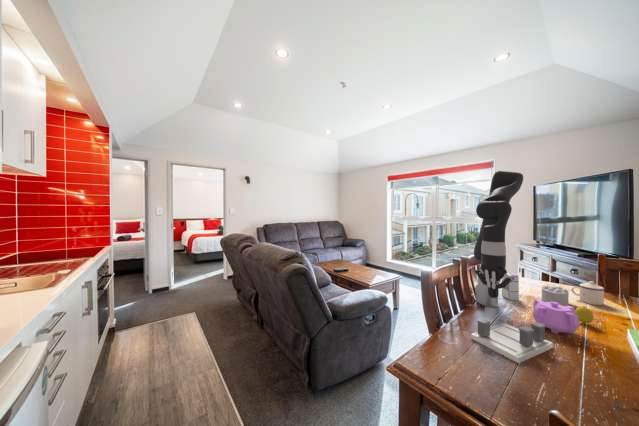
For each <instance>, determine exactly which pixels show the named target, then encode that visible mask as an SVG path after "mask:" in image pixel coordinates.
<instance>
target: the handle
mask: <svg viewBox="0 0 639 426" xmlns="http://www.w3.org/2000/svg"><path fill="white" fill-rule="evenodd" d="M530 326H531V328H532V329H534V332H533V339H534V340H536V341H538V342H541V341H543V340H546V330H545V329H546V328H547V327H546V325H544V324H541V323H539V322H536V321H534V322H531V323H530Z"/></svg>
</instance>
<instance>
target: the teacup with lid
mask: <svg viewBox="0 0 639 426" xmlns="http://www.w3.org/2000/svg"><path fill="white" fill-rule="evenodd" d="M574 289H579V293H576V292H575V290H574ZM605 290H606V289H605V288H604V287H603V286H600V285H598V284H596V283H595V281H593V280H592V281H590V280H589V281H588V282H584V283H580V284H578V286H573V287H571V292H572V294H574V296H579V300H580V301H581V302H583V303H586V304H588V305H589V304H590V305H594V306H603V305H604V304H605Z"/></svg>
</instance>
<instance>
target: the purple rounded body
mask: <svg viewBox="0 0 639 426" xmlns="http://www.w3.org/2000/svg"><path fill="white" fill-rule="evenodd" d="M532 309H533V312H532V317H533V319H534V322H539V323H541V324H544V325H546V327H545V328H547V329H549V330H550V332H551V333H553V334H555V335H559V333H566V334H572V335H573V333H575V332H576V331H577V330H578V329H579V328H581V325H580V321H579V319H578V316H577V315H575V310H576V309H575V307H574V306H571V305H568V306H562V305H559V303H557V302H543V301H542V300H540V299H534V301H533V306H532Z"/></svg>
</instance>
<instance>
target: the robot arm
mask: <svg viewBox="0 0 639 426" xmlns="http://www.w3.org/2000/svg"><path fill="white" fill-rule="evenodd" d="M523 182H524V175H523V173H521V172H517V171H515V172H514V171H507V170H506V171H505V170H497V171H495V172H494V173H493V176H492V179H491V182H490V188H489V195H488V196H487V197H486V198H484V199H482V200H481V201H479V202H478V204H477V206H476V209H475V213H476V215H477V217H479V218H480V219H481V220H482V222H481V227H480V231H479V235H478V238H477V241H476V242H475V245H474V248H473V249H474V250H473V256H474V258H475V260H477V261H480V262H481V265H479V266H477V269H475V270H474V272H475V274H476V276H477V279H476V280H477V284H475V302H477V303H478V304H479V305H480V306H481V305H482V306H484V307H489V308H498V306H499V289H501V290H502V288H504V287H506V286H507V285H508V284H509V283H510V282H512V281H513V280H514V278H513V277H510V276H509V275H508V274H507V273H508V270H507V269H506V266H507V247H506V229H507V224H508V222H509V219H510V217H511V213H512V208H513V207H512V205H511V203H510V201H511V200H512V198H513V197H515V195H516V194H517V193H518V192H519V190H520V189H521V188H522V185H523ZM503 277H504V278H503ZM502 278H503V279H504V281H502Z"/></svg>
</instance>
